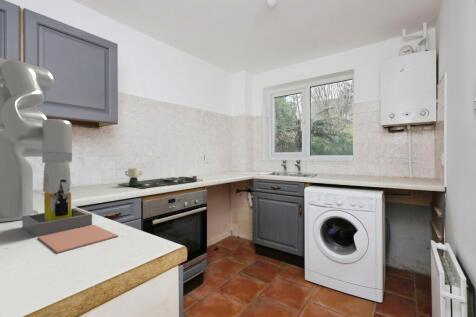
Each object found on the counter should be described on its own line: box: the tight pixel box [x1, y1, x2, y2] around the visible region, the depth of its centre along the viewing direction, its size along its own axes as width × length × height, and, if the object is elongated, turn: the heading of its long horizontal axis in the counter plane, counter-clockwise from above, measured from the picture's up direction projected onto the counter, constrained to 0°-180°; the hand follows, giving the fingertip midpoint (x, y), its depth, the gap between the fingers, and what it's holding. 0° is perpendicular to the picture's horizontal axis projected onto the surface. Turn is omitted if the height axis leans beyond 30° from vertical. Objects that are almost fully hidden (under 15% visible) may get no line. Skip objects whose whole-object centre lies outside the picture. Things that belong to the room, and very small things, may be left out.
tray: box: [21, 207, 93, 238], centre depth 74 cm, size 14×14×4 cm
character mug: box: [125, 167, 143, 187], centre depth 167 cm, size 11×7×13 cm, turn 107°
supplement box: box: [43, 191, 72, 222], centre depth 74 cm, size 6×6×11 cm
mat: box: [37, 224, 119, 254], centre depth 64 cm, size 16×14×1 cm
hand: (57, 213), depth 74 cm, fingers closed on supplement box, 6 cm apart
